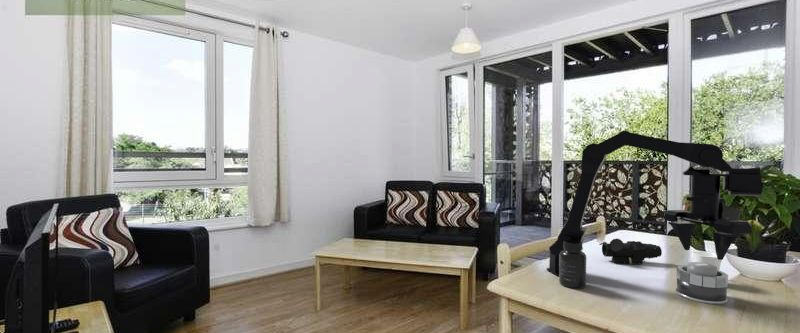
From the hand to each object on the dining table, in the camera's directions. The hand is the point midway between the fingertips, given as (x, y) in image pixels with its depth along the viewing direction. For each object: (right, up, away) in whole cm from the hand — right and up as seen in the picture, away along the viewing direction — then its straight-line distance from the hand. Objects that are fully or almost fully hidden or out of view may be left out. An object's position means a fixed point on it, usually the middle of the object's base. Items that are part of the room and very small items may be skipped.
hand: (702, 254), depth 97 cm
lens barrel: (0, -11, +1) cm, 11 cm away
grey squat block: (0, -7, 0) cm, 7 cm away
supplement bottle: (-30, -10, +8) cm, 32 cm away
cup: (+11, -11, +12) cm, 20 cm away
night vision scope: (0, -10, +31) cm, 32 cm away
